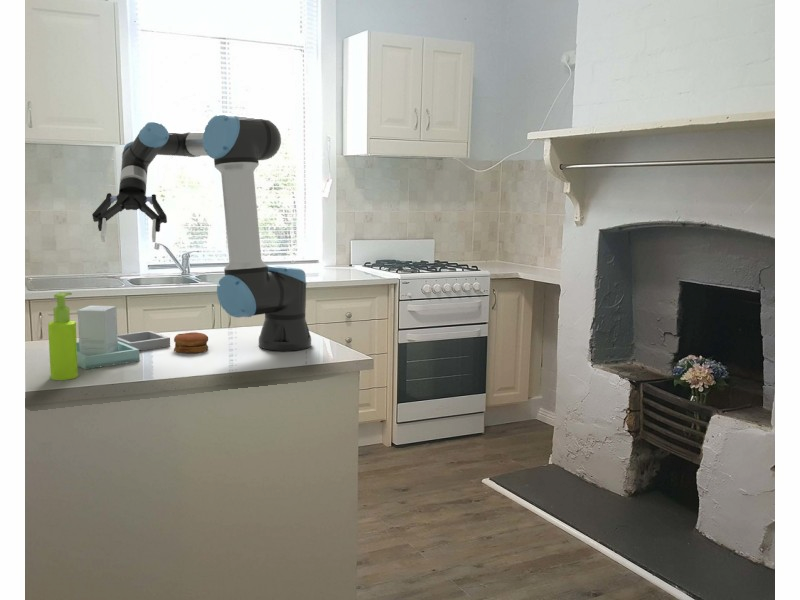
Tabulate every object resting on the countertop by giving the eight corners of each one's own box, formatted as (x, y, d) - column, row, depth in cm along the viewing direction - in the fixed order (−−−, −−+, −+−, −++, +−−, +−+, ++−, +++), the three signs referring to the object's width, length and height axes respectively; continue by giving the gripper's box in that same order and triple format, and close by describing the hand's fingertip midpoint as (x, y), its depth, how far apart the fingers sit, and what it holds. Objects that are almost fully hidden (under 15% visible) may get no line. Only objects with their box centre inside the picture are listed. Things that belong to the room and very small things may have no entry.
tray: (139, 360, 188) (139, 349, 187) (85, 369, 178) (85, 357, 177) (109, 348, 200) (109, 337, 200) (57, 355, 190) (56, 344, 190)
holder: (170, 346, 205) (170, 337, 204) (129, 352, 196) (129, 343, 196) (150, 338, 213) (149, 330, 212) (110, 344, 204) (109, 335, 204)
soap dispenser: (83, 372, 175) (80, 291, 172) (71, 380, 168) (68, 295, 165) (59, 372, 175) (55, 290, 172) (46, 379, 168) (42, 295, 165)
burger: (209, 353, 199) (209, 336, 198) (174, 355, 196) (174, 338, 195) (207, 345, 208) (207, 329, 207) (173, 347, 205) (173, 331, 204)
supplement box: (119, 352, 193) (117, 305, 191) (106, 359, 185) (104, 310, 183) (92, 351, 193) (90, 304, 191) (78, 357, 186) (76, 309, 184)
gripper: (177, 194, 223) (175, 247, 211) (90, 192, 217) (83, 246, 205) (175, 177, 217) (173, 230, 205) (86, 174, 211) (79, 229, 199)
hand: (128, 238), depth 205 cm, fingers open, 13 cm apart
